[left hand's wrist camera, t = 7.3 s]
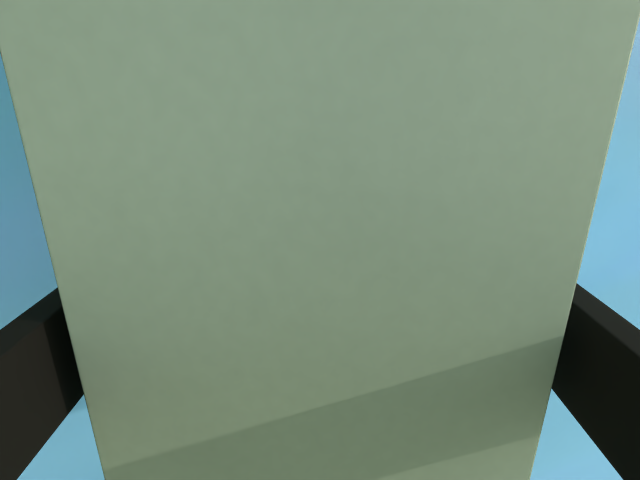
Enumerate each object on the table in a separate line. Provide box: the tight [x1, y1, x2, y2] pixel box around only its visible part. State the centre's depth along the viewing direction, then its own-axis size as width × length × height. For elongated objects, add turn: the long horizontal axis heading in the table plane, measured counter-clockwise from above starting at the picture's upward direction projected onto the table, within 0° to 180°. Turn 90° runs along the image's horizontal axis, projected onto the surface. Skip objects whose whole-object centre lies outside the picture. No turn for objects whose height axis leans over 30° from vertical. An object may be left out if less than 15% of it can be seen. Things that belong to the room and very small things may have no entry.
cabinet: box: [0, 0, 640, 480], centre depth 12 cm, size 20×12×10 cm, turn 0°
